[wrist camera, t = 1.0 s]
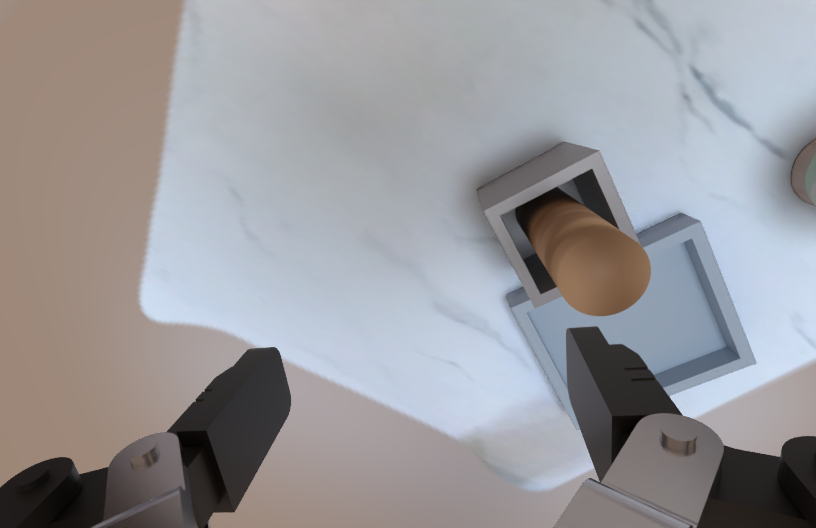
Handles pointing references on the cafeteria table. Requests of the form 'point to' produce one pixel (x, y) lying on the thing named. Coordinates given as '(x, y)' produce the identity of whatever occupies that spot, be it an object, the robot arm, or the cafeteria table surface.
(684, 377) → the tray
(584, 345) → the robot arm
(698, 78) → the cafeteria table surface
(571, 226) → the walnut peg
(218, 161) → the cafeteria table surface
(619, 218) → the grey square frame
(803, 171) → the coffee cup
